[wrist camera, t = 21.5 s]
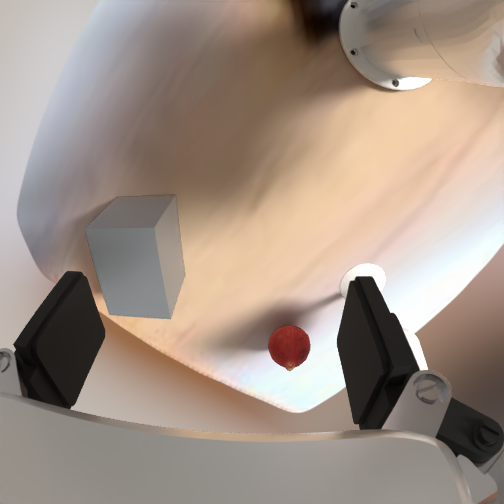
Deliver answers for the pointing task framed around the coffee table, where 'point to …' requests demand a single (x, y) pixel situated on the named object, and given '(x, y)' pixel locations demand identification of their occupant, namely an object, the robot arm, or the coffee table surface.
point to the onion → (289, 346)
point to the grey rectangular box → (138, 255)
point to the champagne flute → (380, 281)
